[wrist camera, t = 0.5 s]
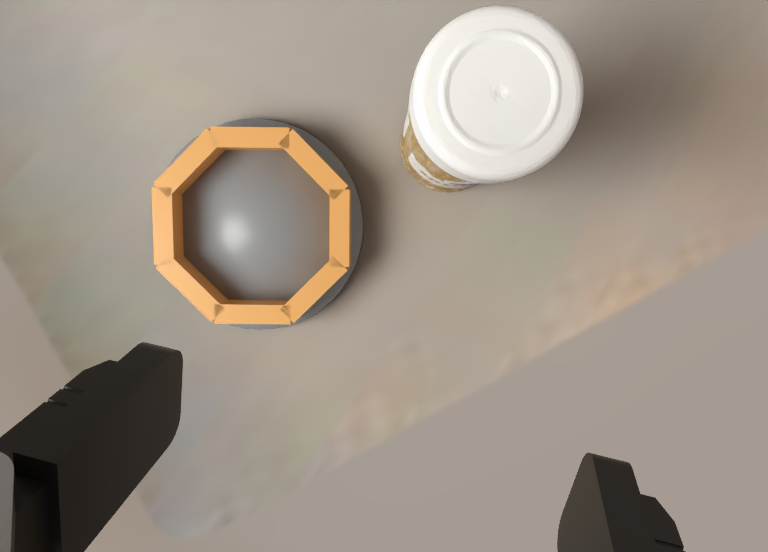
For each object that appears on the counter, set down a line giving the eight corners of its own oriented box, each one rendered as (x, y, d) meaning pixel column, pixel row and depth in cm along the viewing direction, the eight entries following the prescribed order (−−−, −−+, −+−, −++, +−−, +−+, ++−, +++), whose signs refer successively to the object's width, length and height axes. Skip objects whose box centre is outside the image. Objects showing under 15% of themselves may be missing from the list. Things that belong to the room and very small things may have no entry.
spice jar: (423, 207, 29) (454, 210, 16) (384, 120, 29) (382, 47, 16) (510, 167, 29) (615, 136, 16) (472, 78, 29) (548, -32, 15)
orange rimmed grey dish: (153, 119, 29) (136, 112, 27) (363, 121, 29) (362, 115, 27) (160, 325, 30) (144, 334, 28) (362, 328, 30) (360, 336, 28)
